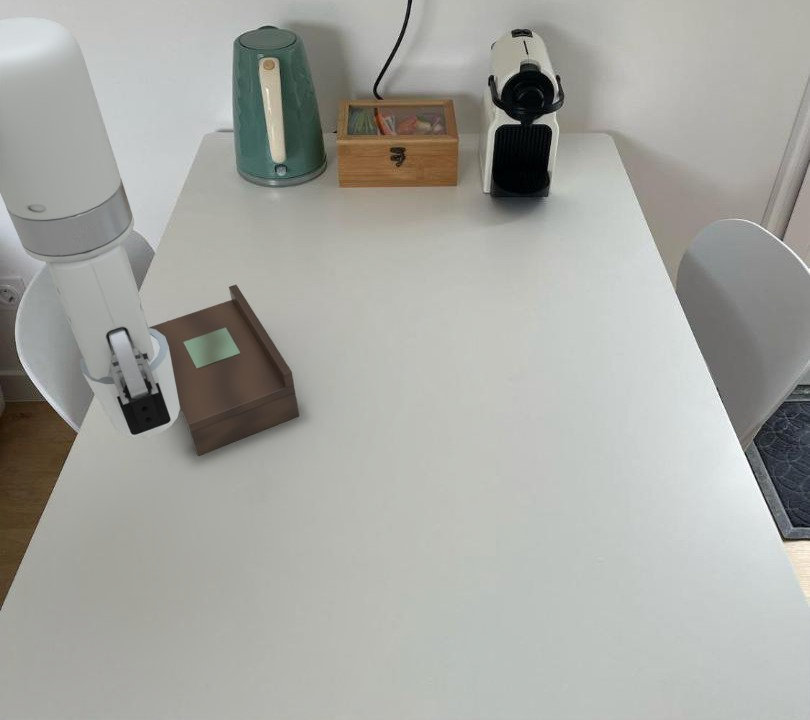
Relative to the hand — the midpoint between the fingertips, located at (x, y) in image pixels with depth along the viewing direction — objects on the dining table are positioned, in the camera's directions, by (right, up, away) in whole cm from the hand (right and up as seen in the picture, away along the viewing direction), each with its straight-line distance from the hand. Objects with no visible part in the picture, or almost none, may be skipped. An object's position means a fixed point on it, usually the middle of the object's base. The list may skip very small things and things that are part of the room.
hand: (139, 395), depth 67 cm
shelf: (+1, 0, +29) cm, 29 cm away
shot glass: (0, -2, +2) cm, 2 cm away
